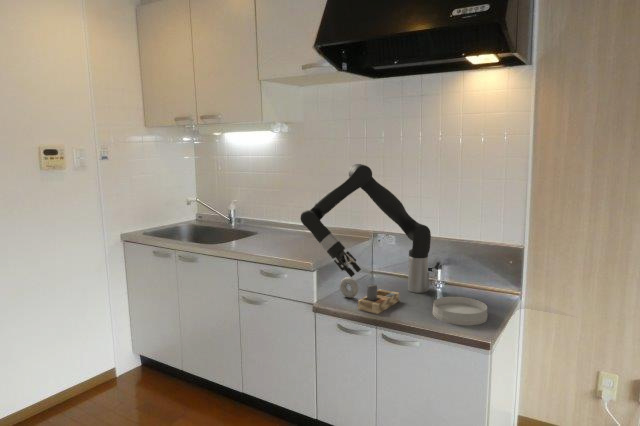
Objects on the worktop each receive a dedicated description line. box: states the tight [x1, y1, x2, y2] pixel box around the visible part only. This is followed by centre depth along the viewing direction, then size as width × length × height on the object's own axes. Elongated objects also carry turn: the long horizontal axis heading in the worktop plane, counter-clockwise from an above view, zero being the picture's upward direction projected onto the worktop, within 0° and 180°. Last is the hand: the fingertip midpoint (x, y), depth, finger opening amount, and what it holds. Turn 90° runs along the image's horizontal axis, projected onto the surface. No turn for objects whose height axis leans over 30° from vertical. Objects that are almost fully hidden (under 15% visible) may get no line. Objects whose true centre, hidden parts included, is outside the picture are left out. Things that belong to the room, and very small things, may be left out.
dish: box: [432, 296, 488, 326], centre depth 196 cm, size 22×22×5 cm
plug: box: [366, 283, 378, 302], centre depth 206 cm, size 4×4×10 cm
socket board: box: [357, 288, 400, 315], centre depth 209 cm, size 20×10×4 cm, turn 145°
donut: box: [339, 276, 359, 299], centre depth 220 cm, size 10×4×10 cm, turn 50°
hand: (356, 273), depth 207 cm, fingers open, 8 cm apart
